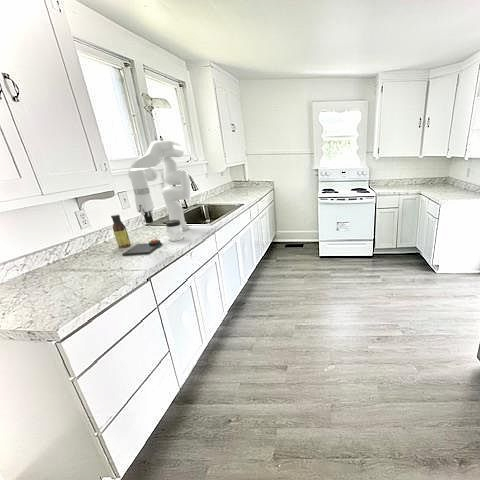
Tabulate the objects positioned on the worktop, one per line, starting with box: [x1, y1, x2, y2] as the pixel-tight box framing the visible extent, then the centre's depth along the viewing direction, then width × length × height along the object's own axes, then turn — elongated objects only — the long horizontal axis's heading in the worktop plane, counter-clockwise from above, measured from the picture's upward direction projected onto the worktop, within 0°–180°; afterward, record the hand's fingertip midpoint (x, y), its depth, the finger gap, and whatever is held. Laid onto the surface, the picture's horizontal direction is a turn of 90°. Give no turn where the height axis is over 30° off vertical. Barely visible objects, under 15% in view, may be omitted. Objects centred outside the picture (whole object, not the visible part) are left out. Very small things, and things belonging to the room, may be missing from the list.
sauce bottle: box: [110, 213, 131, 249], centre depth 158 cm, size 7×6×20 cm
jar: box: [165, 219, 184, 242], centre depth 170 cm, size 9×8×12 cm
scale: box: [121, 239, 163, 257], centre depth 154 cm, size 16×14×3 cm
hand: (149, 222), depth 155 cm, fingers closed
